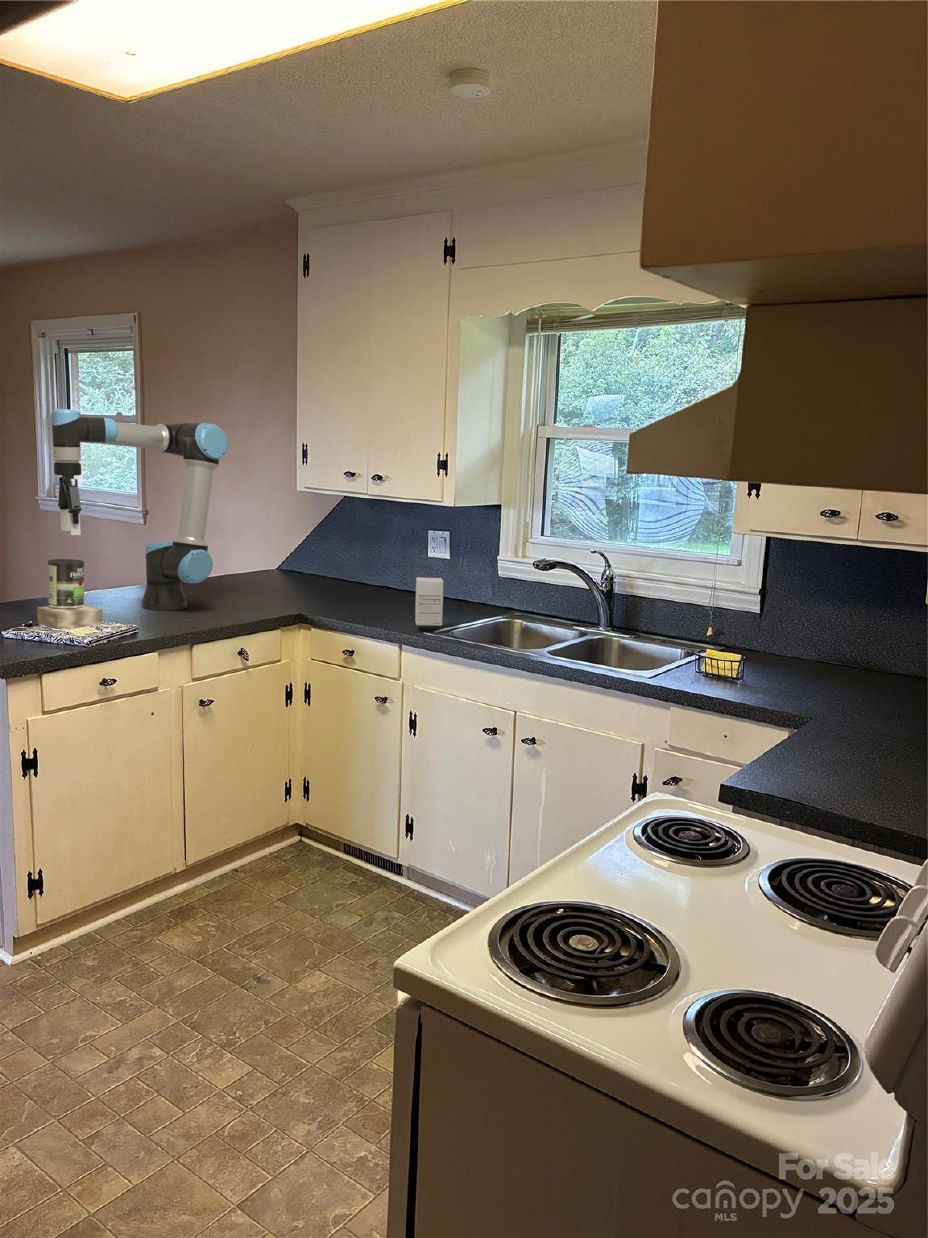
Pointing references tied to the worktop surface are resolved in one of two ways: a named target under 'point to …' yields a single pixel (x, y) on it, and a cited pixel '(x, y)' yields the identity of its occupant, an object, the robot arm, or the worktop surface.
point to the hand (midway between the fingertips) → (70, 532)
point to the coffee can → (66, 583)
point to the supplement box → (429, 601)
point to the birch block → (69, 617)
